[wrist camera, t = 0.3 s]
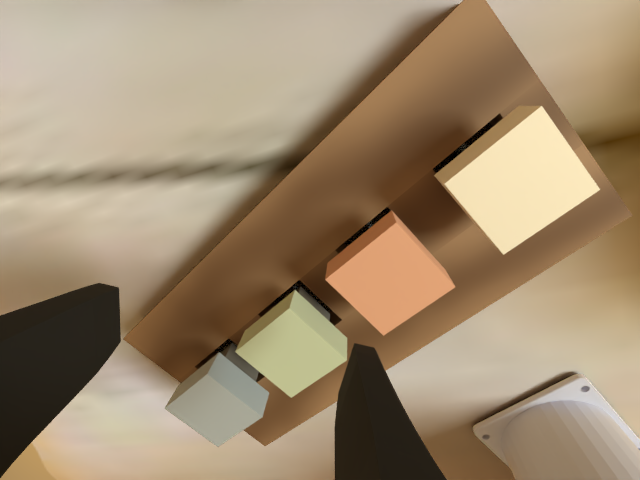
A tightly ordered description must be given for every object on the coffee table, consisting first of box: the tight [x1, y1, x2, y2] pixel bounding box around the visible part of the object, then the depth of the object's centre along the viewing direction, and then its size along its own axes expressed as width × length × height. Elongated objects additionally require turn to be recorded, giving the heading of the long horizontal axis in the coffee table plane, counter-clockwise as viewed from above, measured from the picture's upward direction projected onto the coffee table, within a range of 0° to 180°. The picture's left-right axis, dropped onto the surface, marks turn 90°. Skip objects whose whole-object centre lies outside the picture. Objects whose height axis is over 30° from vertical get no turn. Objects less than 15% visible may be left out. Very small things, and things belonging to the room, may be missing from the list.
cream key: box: [434, 106, 600, 255], centre depth 13 cm, size 4×4×4 cm
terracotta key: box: [325, 210, 455, 336], centre depth 15 cm, size 4×4×4 cm
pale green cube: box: [235, 287, 347, 398], centre depth 17 cm, size 4×4×4 cm
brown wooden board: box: [124, 0, 632, 446], centre depth 18 cm, size 12×25×2 cm, turn 134°
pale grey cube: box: [165, 342, 269, 447], centre depth 19 cm, size 4×4×4 cm
